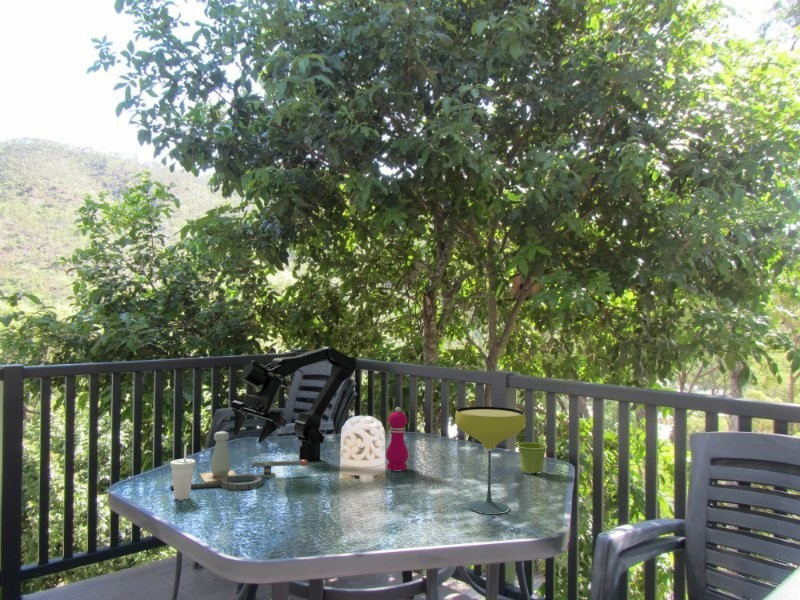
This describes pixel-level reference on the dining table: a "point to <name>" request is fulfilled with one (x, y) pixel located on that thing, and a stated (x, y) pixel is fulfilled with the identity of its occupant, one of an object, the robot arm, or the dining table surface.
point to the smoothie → (182, 476)
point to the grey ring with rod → (234, 486)
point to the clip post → (267, 473)
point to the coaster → (211, 479)
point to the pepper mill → (397, 441)
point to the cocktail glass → (490, 439)
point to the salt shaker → (220, 455)
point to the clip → (278, 463)
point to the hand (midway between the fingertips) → (246, 438)
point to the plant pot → (532, 456)
